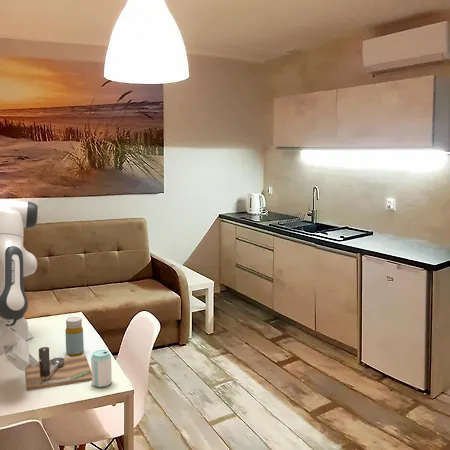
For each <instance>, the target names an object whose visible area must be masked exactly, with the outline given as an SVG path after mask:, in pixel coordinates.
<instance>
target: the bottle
mask: <svg viewBox="0 0 450 450" xmlns="http://www.w3.org/2000/svg"><path fill="white" fill-rule="evenodd" d="M82 319H83V318H82V317H80V316H70V317H67V318H66V320H65V325H66V327H65V351H66V355H67V356H68V357H75V356H82V355H83V353H84V351H85V349H84V347H85V346H84V345H85V344H84V328H83V326H82V324H83V323H82V321H83V320H82Z"/></svg>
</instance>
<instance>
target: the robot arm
mask: <svg viewBox="0 0 450 450" xmlns="http://www.w3.org/2000/svg"><path fill="white" fill-rule="evenodd" d="M40 214H41V213H40V210H39V207H38V205H37V204H36V203H35V202H32V201H23V200H19V199H17V200H16V199H0V356H2V355H5V359H6V360H7V361H8V362H9V363H11V365H12V366H14V367H15V368H17V369H18V370H20V371H25V370H26V367H27V366H28V365H31V366H33V367H36V366H37V362H38V360H37V359H36V358H35V357H34V356H33V355H32V354H31V353H30V351H29V343H28V342H27V341H29V340H31V339H33V338H34V335H33V333H32V332H31V331H30V330H29V327H28V326H29V325H28V324H29V323H28V320H27V319H26V318H25V317H24V316H25V314H26V312H27V310H28V307H29V301H28V300H29V299H28V296H27V294H26V291H25V286H24V285H25V284H24V280H25V279H24V277H28V276H30V275H33V274H34V273H35V272H36V271H37V268H38V261H37V258H36V256H35V254H33V253H32V252H30V251H27V249H26V248H25V246H24V228H25V229H31V228H34V227H35V226H36V225H37V224H38V222H39V219H40Z"/></svg>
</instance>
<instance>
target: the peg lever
mask: <svg viewBox="0 0 450 450" xmlns="http://www.w3.org/2000/svg"><path fill="white" fill-rule="evenodd" d="M50 358H51V357H50V347H48V346H43V347H39V348H38V362H39V368H40V380H48V379H49V378H50V376H51V375H52V374H53V373H54V372H55V371H56V369H57V368H59V367H62V366H63V365H64V359H63V358H64V357H53V358H52V359H50ZM50 360H51V361H50ZM50 363H51V365H50Z"/></svg>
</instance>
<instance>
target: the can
mask: <svg viewBox="0 0 450 450" xmlns="http://www.w3.org/2000/svg"><path fill="white" fill-rule="evenodd" d="M90 360H91V362H90V365H91V367H90V369H91V372H92V381H91V384H92V386H94V387H96V388H105V387H108V386H110V385H111V384H112V380H113V379H112V378H113V376H112V373H113V372H112V355H111V354H110V351H109V350H108V349H107V350H106V349H98V350H95V351H93V353H92V355H91V358H90Z"/></svg>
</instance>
